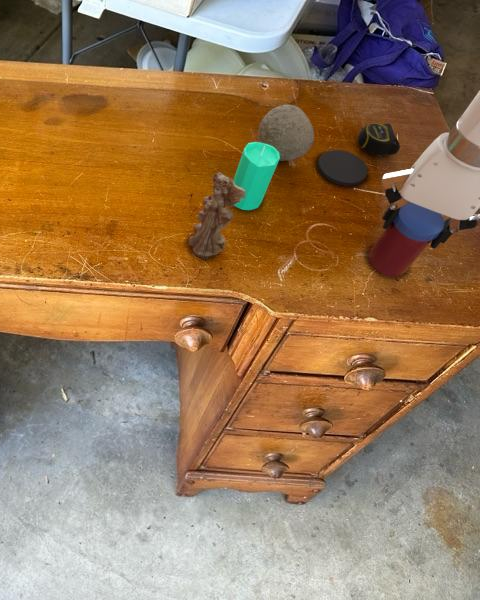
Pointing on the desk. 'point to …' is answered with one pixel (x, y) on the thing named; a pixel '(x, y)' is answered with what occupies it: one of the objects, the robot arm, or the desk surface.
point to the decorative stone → (287, 131)
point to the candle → (255, 173)
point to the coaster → (342, 167)
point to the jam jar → (395, 252)
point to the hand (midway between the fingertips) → (410, 232)
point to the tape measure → (378, 139)
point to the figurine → (215, 216)
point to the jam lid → (419, 222)
